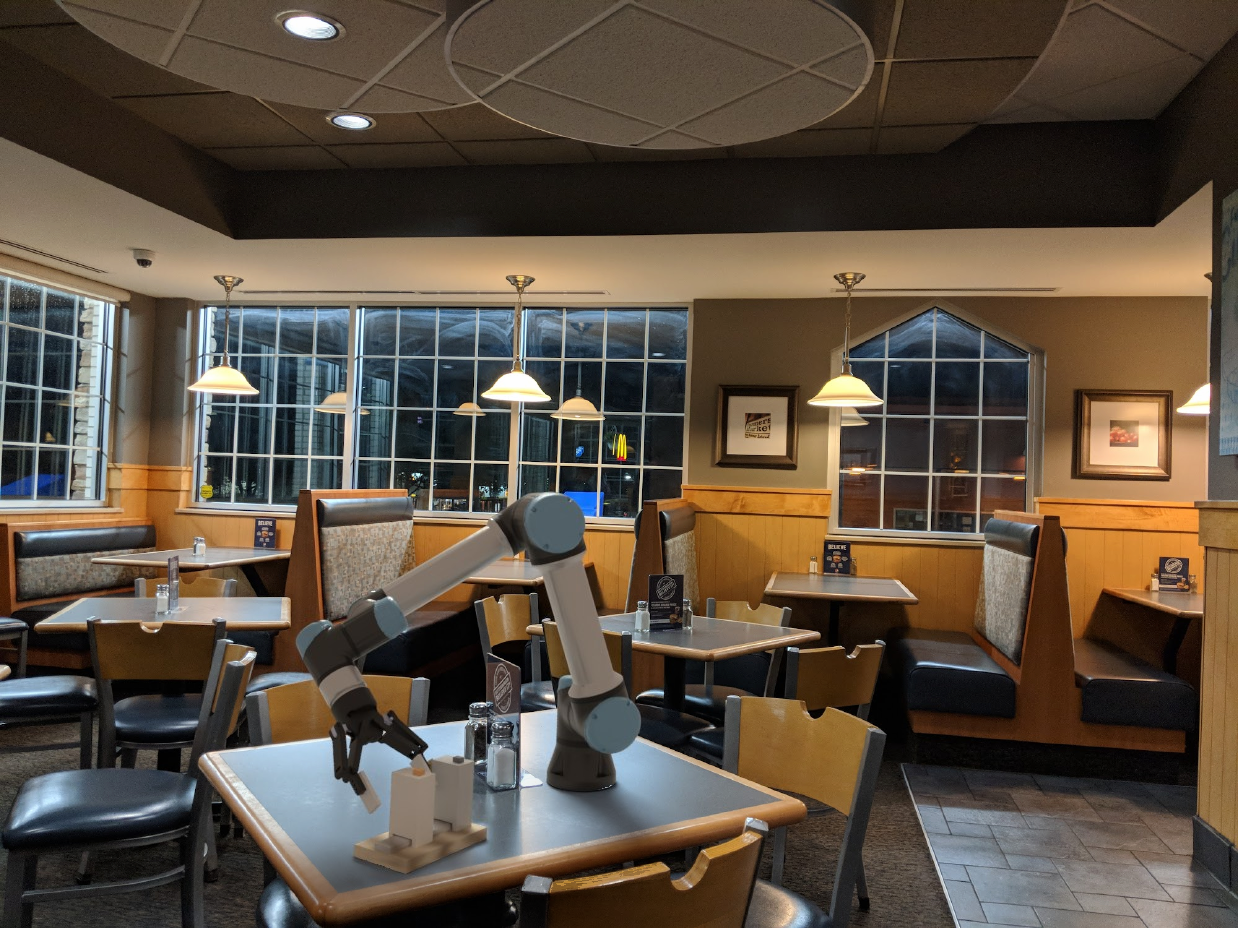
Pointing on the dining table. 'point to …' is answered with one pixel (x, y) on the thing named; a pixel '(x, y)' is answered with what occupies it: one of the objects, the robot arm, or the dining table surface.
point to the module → (412, 805)
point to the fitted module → (453, 790)
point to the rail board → (407, 858)
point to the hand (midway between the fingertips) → (405, 798)
